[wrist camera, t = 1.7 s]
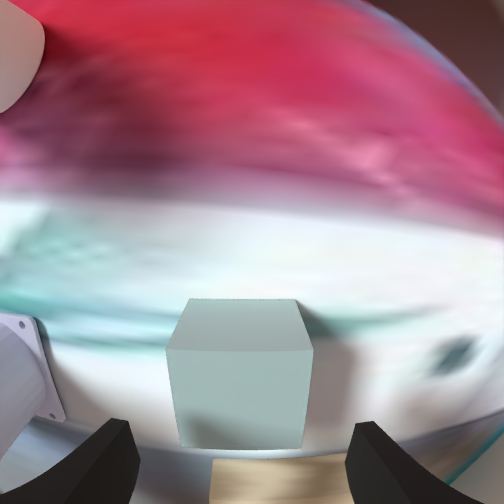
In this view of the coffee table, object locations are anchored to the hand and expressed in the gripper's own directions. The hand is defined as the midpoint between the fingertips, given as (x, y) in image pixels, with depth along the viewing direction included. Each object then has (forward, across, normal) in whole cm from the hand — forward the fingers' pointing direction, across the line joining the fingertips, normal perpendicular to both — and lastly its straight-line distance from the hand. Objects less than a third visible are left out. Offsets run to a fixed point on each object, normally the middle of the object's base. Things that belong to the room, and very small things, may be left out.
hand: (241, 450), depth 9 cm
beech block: (+8, -4, +15) cm, 17 cm away
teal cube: (+7, 0, 0) cm, 7 cm away
